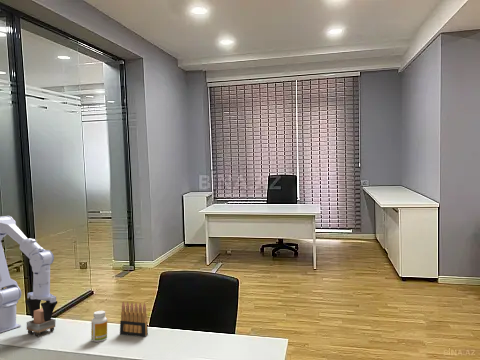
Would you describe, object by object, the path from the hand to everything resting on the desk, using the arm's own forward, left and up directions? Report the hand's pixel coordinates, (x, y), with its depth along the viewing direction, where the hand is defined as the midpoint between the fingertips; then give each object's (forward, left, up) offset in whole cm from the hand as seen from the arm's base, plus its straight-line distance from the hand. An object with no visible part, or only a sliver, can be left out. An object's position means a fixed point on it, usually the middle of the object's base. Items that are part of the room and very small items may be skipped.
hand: (41, 319), depth 144 cm
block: (0, 0, -3) cm, 3 cm away
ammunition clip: (+33, +14, -5) cm, 37 cm away
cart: (0, 0, -5) cm, 5 cm away
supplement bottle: (+25, +6, -5) cm, 26 cm away
